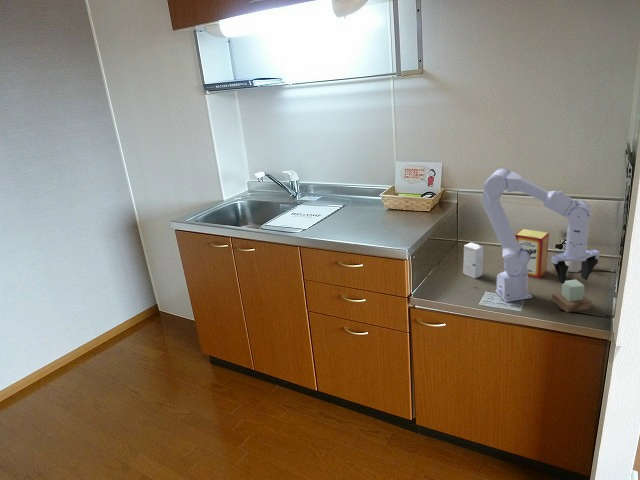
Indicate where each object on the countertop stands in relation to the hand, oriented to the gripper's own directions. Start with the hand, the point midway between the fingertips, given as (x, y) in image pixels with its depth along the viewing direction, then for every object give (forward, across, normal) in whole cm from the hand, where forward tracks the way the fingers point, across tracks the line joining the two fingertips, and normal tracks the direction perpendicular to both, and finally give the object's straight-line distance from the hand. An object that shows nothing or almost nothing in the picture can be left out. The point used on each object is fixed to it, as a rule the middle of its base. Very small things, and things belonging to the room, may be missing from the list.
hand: (572, 280), depth 147 cm
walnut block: (+9, 0, 0) cm, 9 cm away
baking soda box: (+9, 0, +25) cm, 26 cm away
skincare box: (+9, -20, +30) cm, 37 cm away
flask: (+9, +15, +23) cm, 29 cm away
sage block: (+6, 0, 0) cm, 6 cm away
